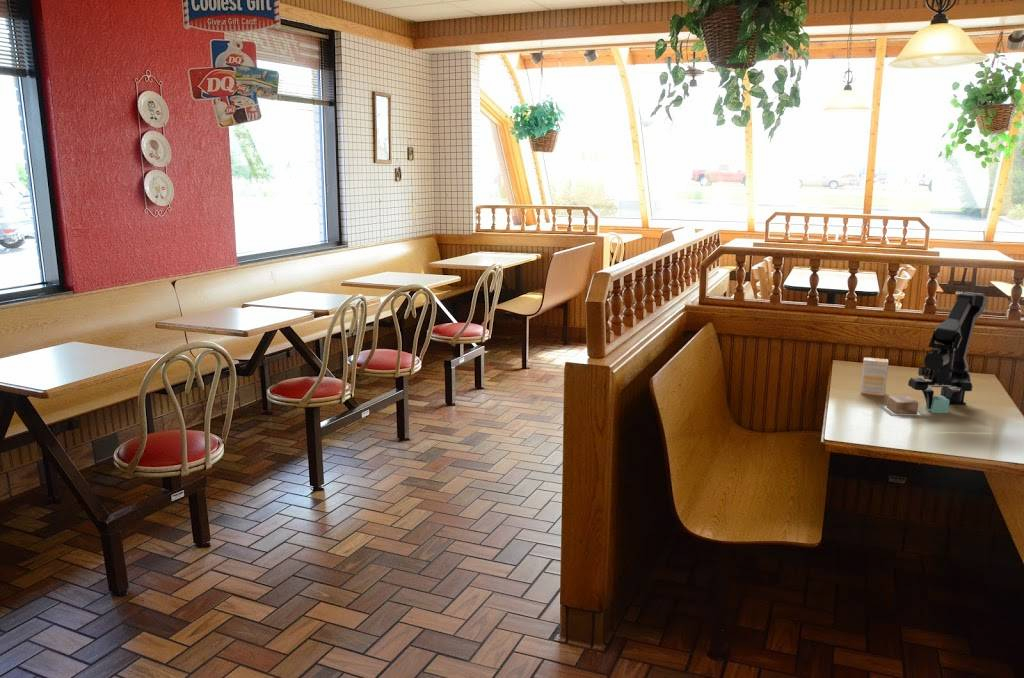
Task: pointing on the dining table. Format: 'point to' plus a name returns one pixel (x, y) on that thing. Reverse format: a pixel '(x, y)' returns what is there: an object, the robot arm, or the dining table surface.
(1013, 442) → the dining table surface
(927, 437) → the dining table surface
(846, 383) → the dining table surface
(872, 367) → the supplement box
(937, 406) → the teal cube
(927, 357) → the robot arm
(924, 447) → the dining table surface
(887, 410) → the mat
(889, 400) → the walnut block
